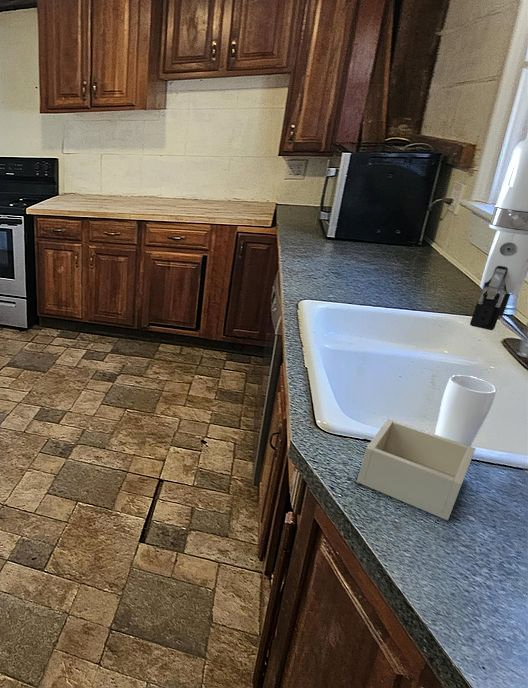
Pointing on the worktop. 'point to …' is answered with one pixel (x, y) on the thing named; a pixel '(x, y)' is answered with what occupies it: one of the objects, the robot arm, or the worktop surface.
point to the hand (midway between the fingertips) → (486, 320)
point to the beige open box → (416, 467)
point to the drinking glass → (464, 408)
